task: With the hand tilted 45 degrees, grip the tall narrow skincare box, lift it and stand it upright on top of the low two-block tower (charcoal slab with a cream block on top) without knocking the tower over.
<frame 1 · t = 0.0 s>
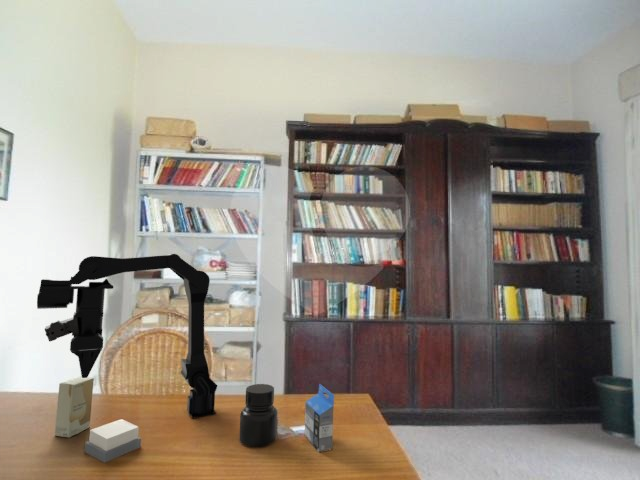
hand: (85, 372, 88), 15 cm above the table, tool pointing down, fingers open, 9 cm apart
tower top: (113, 439, 81), point 2 cm above the table, touching tower bottom
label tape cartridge: (317, 443, 87), on the table
ink bottle: (258, 440, 87), on the table
tower bottom: (112, 451, 81), on the table, touching tower top
skincare box: (72, 432, 88), on the table
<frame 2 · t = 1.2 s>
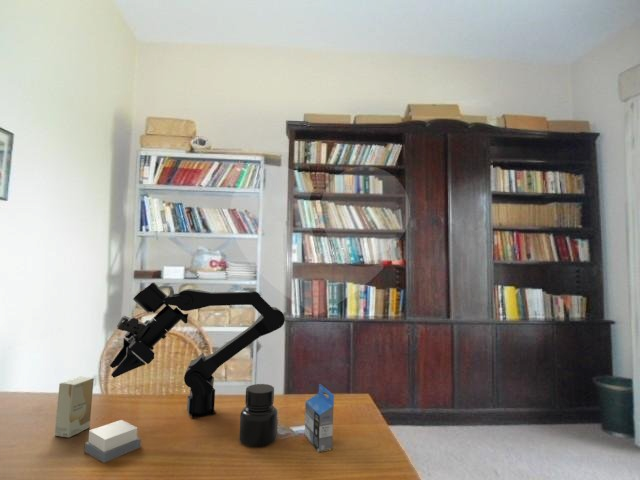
hand: (111, 371, 93), 13 cm above the table, tool tilted 45°, fingers open, 9 cm apart
nothing on the table moved.
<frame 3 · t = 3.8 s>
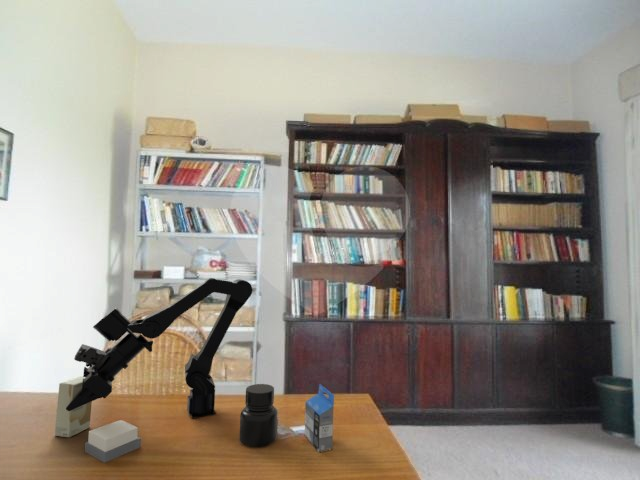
hand: (68, 404, 88), 7 cm above the table, tool tilted 45°, fingers closed on skincare box, 7 cm apart
skincare box: (72, 432, 88), on the table, touching gripper
everything else where it was.
when the fingers open (12 cm above the table, at t = 8.0 s): skincare box stays where it is, resting on tower top.
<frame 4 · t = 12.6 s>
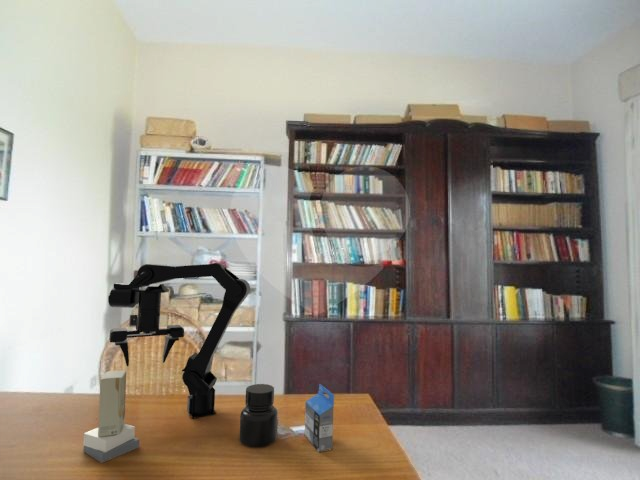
hand: (145, 364, 102), 13 cm above the table, tool pointing down, fingers open, 9 cm apart
tower top: (109, 441, 81), point 2 cm above the table, touching skincare box
tower bottom: (111, 452, 81), on the table
skincare box: (111, 430, 81), point 4 cm above the table, touching tower top
everything else where it was.
at the end: skincare box 0.4 cm off-centre on the tower bottom, point 4.9 cm above the tower bottom's base; skincare box tilted 2°; tower top moved 1.1 cm from its start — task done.
